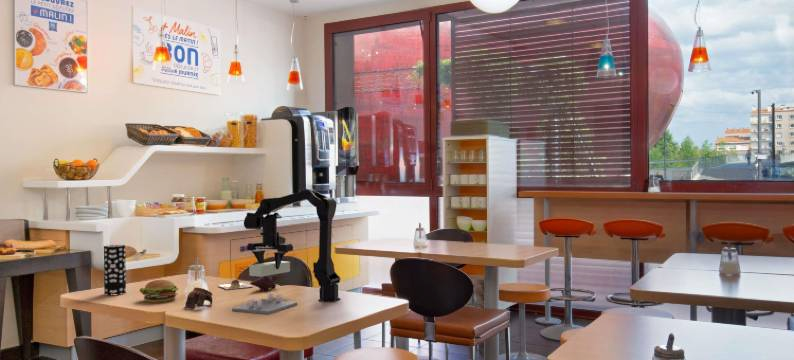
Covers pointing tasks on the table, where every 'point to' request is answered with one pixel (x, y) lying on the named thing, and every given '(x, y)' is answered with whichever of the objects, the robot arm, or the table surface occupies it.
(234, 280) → the dessert
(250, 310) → the peg plate
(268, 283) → the icecream
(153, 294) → the food
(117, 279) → the white-spotted black cylinder
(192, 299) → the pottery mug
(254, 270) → the shelf board
